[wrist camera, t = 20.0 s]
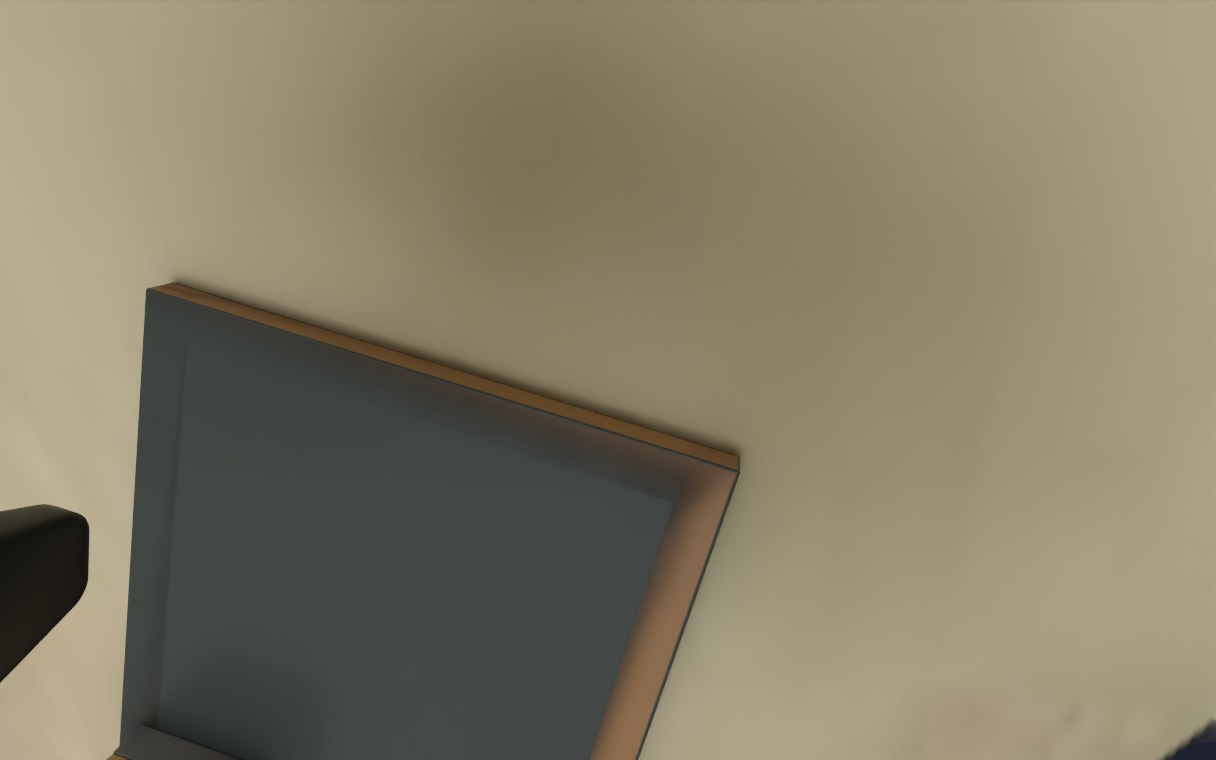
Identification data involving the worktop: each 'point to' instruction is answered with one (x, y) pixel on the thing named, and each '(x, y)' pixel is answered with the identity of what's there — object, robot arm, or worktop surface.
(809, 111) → the worktop surface
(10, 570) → the robot arm
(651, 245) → the worktop surface
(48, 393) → the worktop surface
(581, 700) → the chalkboard
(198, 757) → the wooden block
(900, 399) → the worktop surface
